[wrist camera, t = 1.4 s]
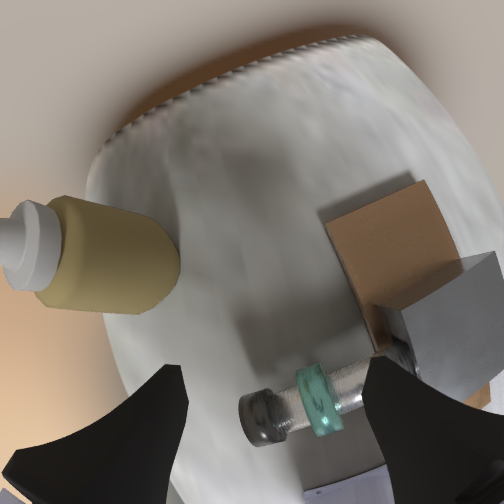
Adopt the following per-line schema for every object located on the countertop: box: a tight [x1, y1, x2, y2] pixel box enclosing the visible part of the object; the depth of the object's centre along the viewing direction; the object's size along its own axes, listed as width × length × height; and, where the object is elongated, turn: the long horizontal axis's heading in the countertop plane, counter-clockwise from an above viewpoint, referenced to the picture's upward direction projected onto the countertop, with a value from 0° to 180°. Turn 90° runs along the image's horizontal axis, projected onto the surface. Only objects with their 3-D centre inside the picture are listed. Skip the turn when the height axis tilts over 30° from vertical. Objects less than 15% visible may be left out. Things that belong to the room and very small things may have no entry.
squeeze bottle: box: [0, 195, 180, 315], centre depth 15 cm, size 8×8×18 cm
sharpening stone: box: [325, 180, 504, 410], centre depth 15 cm, size 10×22×7 cm, turn 23°
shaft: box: [239, 340, 418, 447], centre depth 15 cm, size 15×5×5 cm, turn 113°
